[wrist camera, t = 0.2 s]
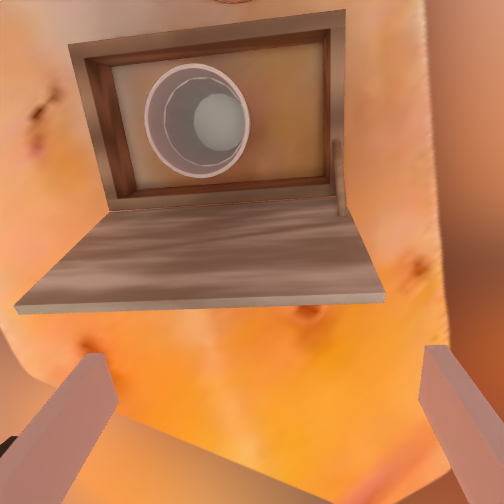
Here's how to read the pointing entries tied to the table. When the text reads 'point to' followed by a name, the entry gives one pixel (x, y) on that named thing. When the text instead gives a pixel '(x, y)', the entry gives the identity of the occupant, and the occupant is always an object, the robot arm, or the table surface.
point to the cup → (197, 120)
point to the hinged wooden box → (211, 201)
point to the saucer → (232, 1)
